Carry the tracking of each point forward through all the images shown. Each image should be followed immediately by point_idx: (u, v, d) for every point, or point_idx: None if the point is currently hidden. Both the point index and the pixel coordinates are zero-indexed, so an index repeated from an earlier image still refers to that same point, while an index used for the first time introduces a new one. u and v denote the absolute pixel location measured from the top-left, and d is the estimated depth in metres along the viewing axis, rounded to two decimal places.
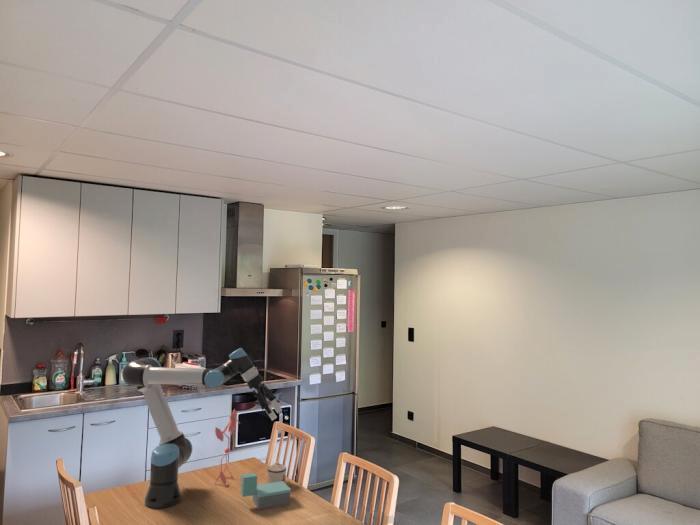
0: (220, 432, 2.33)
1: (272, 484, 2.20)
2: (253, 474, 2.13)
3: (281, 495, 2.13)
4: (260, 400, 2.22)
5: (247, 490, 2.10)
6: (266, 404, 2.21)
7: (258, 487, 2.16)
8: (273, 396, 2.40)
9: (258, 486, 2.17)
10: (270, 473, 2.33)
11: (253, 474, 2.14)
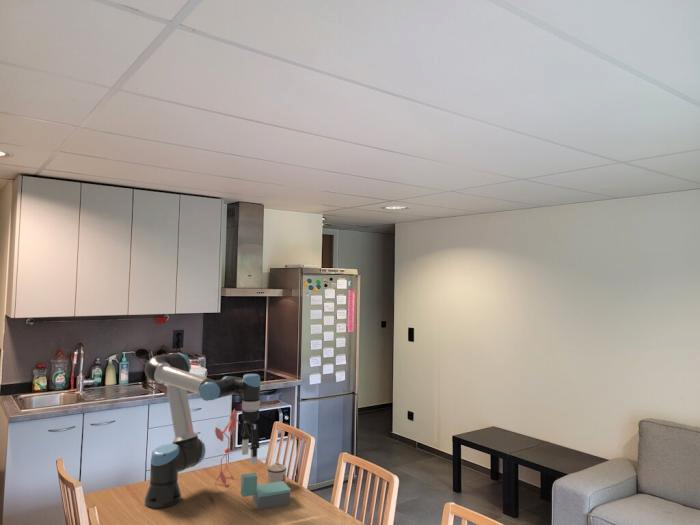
0: (220, 432, 2.33)
1: (272, 484, 2.20)
2: (253, 474, 2.13)
3: (281, 495, 2.13)
4: (255, 439, 2.06)
5: (247, 490, 2.10)
6: None
7: (258, 487, 2.16)
8: None
9: (258, 486, 2.17)
10: (270, 473, 2.33)
11: (253, 474, 2.14)
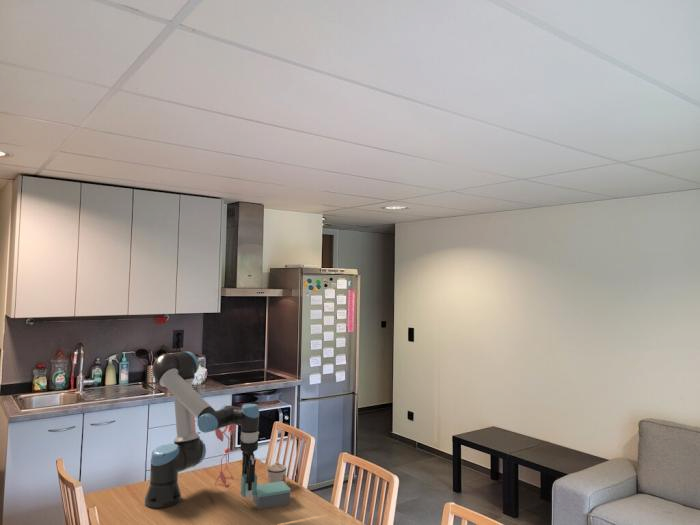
0: (220, 432, 2.33)
1: (272, 484, 2.20)
2: None
3: (281, 495, 2.13)
4: (251, 474, 2.07)
5: None
6: None
7: (258, 487, 2.16)
8: None
9: (258, 486, 2.17)
10: (270, 473, 2.33)
11: None
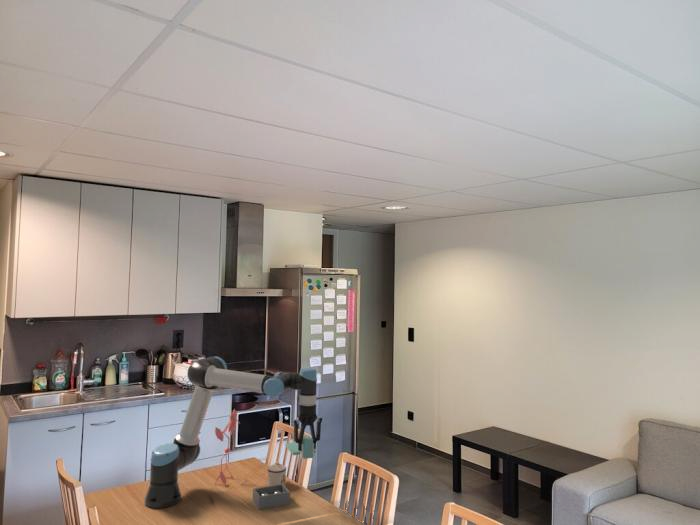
0: (220, 432, 2.33)
1: (292, 446, 2.25)
2: (305, 436, 2.18)
3: (281, 495, 2.13)
4: None
5: None
6: None
7: (298, 450, 2.19)
8: None
9: (295, 450, 2.19)
10: (270, 473, 2.33)
11: (304, 436, 2.18)
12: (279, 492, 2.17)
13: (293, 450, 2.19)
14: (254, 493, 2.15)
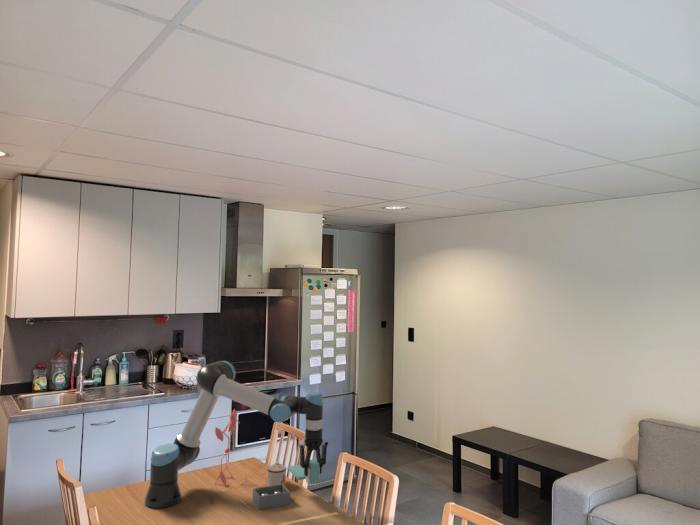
0: (220, 432, 2.33)
1: (296, 469, 2.24)
2: (310, 460, 2.17)
3: (281, 495, 2.13)
4: None
5: None
6: None
7: (303, 474, 2.19)
8: None
9: (300, 474, 2.19)
10: (270, 473, 2.33)
11: (310, 460, 2.18)
12: (279, 492, 2.17)
13: (298, 474, 2.19)
14: (254, 493, 2.15)
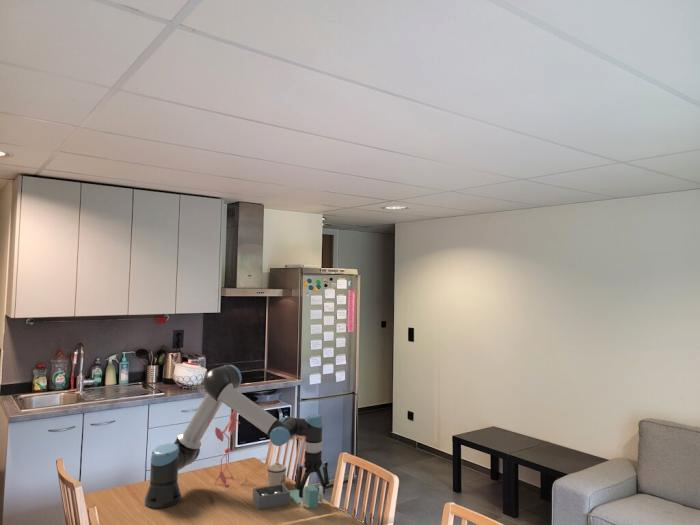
0: (220, 432, 2.33)
1: (295, 494, 2.24)
2: (309, 486, 2.17)
3: (281, 495, 2.13)
4: None
5: None
6: None
7: None
8: None
9: (299, 500, 2.18)
10: (270, 473, 2.33)
11: (309, 486, 2.17)
12: (279, 492, 2.17)
13: (297, 500, 2.18)
14: (254, 493, 2.15)
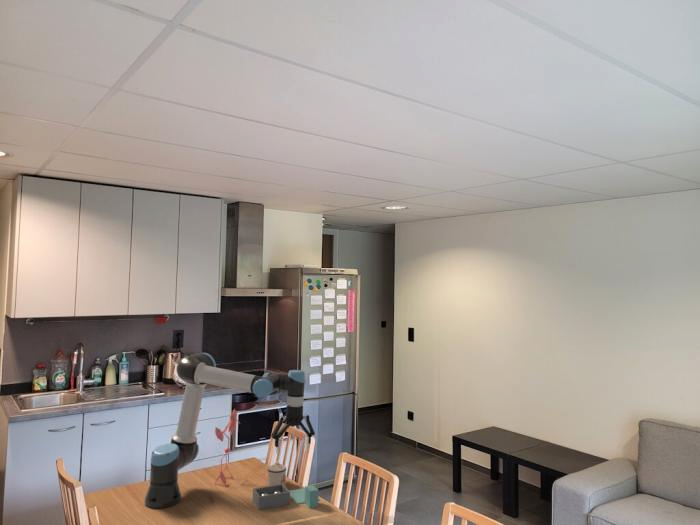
0: (220, 432, 2.33)
1: (295, 494, 2.24)
2: (309, 486, 2.17)
3: (281, 495, 2.13)
4: None
5: None
6: None
7: (302, 500, 2.18)
8: None
9: (299, 500, 2.18)
10: (270, 473, 2.33)
11: (309, 486, 2.17)
12: (279, 492, 2.17)
13: (297, 500, 2.18)
14: (254, 493, 2.15)
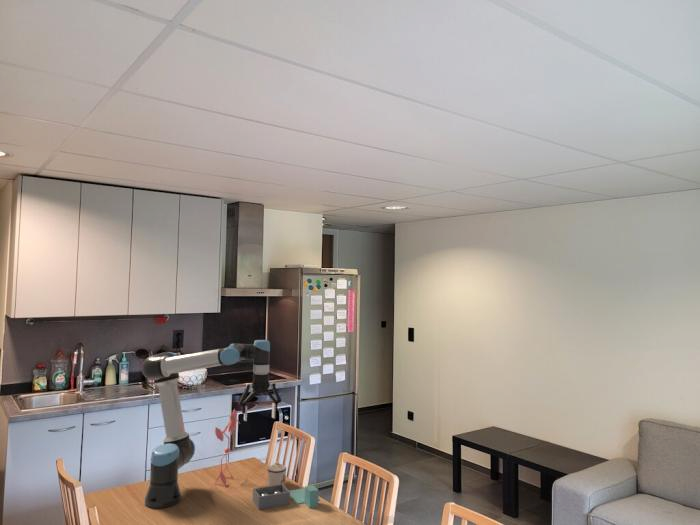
0: (220, 432, 2.33)
1: (295, 494, 2.24)
2: (309, 486, 2.17)
3: (281, 495, 2.13)
4: None
5: None
6: None
7: (302, 500, 2.18)
8: None
9: (299, 500, 2.18)
10: (270, 473, 2.33)
11: (309, 486, 2.17)
12: (279, 492, 2.17)
13: (297, 500, 2.18)
14: (254, 493, 2.15)
